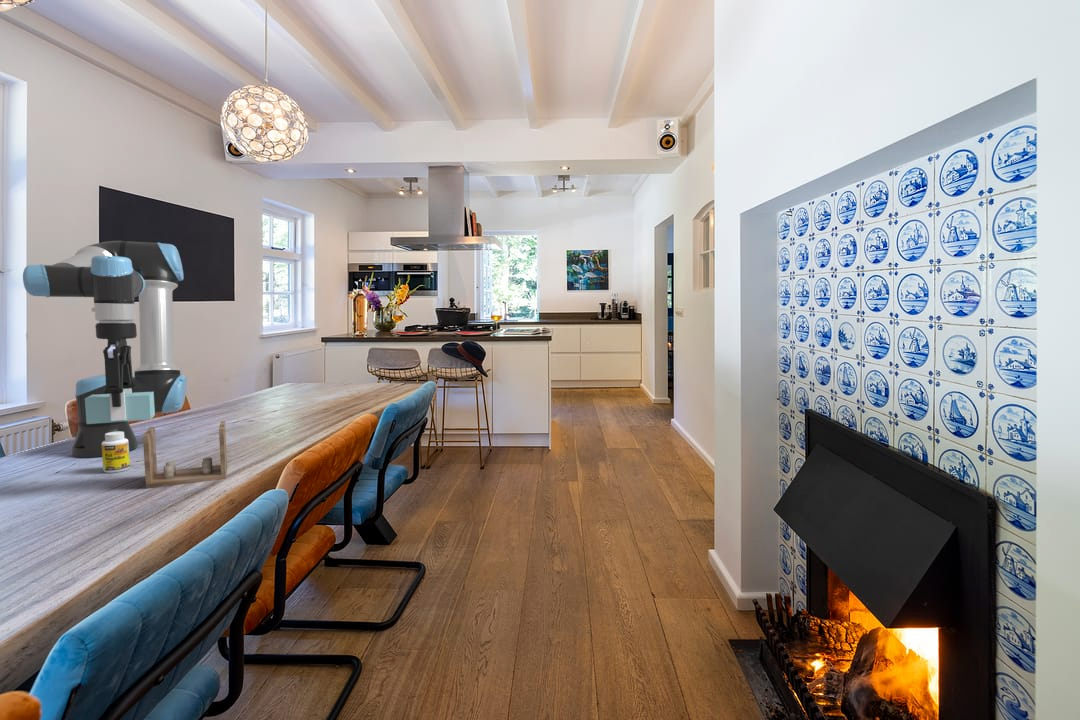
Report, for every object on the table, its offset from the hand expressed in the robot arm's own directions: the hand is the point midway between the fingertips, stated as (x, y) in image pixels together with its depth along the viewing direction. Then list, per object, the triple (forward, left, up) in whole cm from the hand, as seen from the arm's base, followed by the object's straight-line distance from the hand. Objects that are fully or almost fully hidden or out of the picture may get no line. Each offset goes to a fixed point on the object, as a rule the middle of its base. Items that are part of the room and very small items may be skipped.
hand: (122, 417), depth 125 cm
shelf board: (0, 0, -1) cm, 1 cm away
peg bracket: (0, +13, -17) cm, 21 cm away
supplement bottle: (-16, -5, -17) cm, 24 cm away
